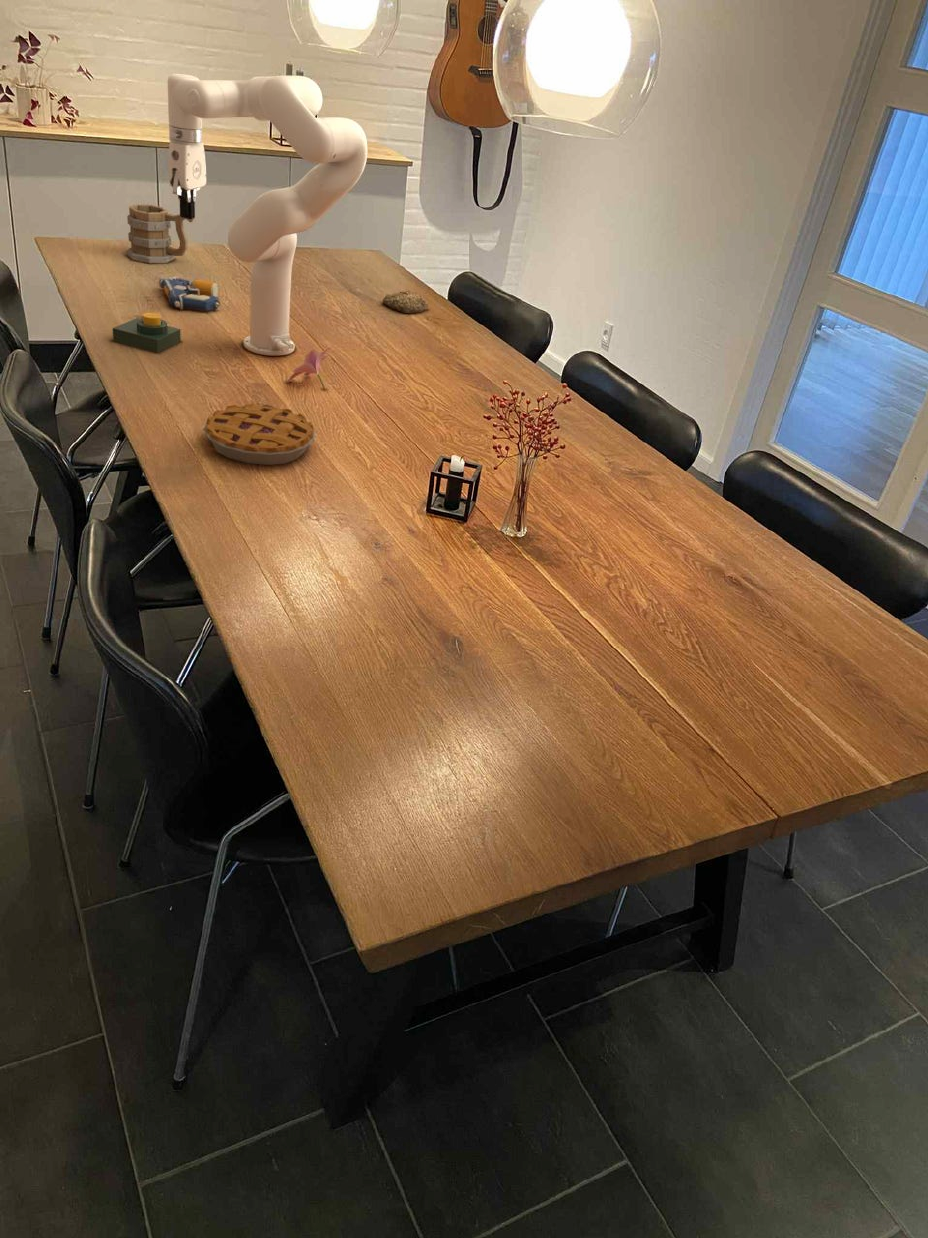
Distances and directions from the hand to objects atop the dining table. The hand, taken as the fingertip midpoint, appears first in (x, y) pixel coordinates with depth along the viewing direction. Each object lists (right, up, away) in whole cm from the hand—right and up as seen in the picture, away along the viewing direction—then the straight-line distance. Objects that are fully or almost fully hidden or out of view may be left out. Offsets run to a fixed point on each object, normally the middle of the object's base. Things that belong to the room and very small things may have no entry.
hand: (187, 217), depth 228 cm
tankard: (-24, +10, +53) cm, 59 cm away
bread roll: (+51, -5, +50) cm, 72 cm away
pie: (+27, -64, -40) cm, 80 cm away
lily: (+32, -44, -10) cm, 55 cm away
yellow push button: (-7, -28, -6) cm, 30 cm away
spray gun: (-6, -11, +27) cm, 30 cm away
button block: (-9, -32, -3) cm, 33 cm away
